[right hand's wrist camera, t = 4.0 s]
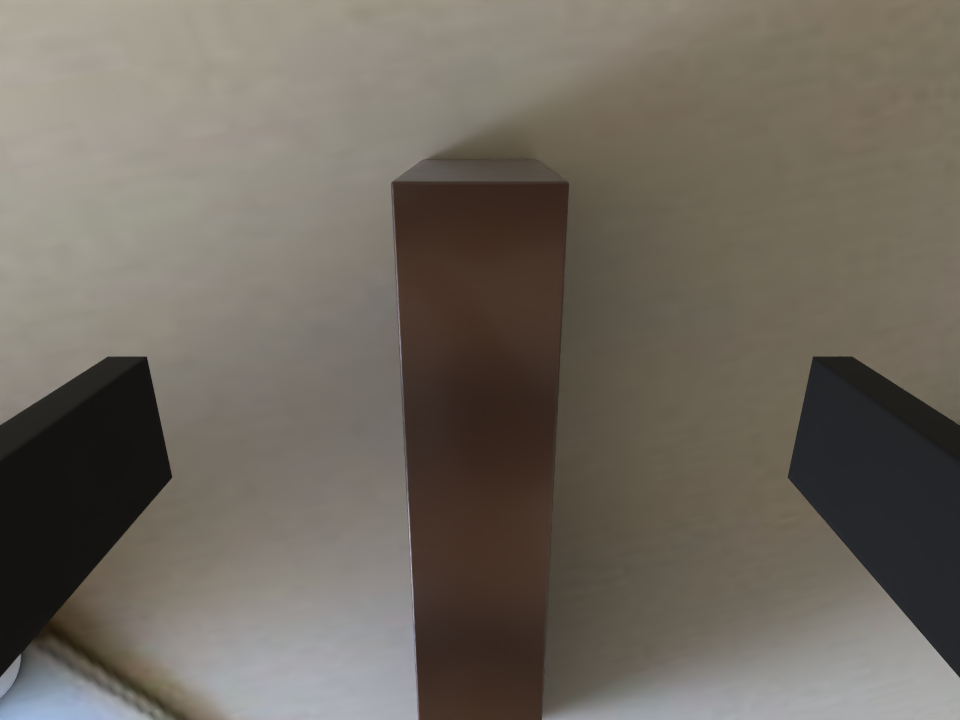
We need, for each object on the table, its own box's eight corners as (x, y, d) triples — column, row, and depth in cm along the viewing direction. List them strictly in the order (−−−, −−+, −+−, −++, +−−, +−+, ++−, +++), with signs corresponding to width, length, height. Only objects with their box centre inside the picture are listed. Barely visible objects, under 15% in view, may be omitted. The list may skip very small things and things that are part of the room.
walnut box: (421, 159, 27) (390, 181, 17) (538, 159, 27) (569, 181, 17) (440, 725, 39) (427, 916, 30) (519, 725, 39) (532, 916, 30)
